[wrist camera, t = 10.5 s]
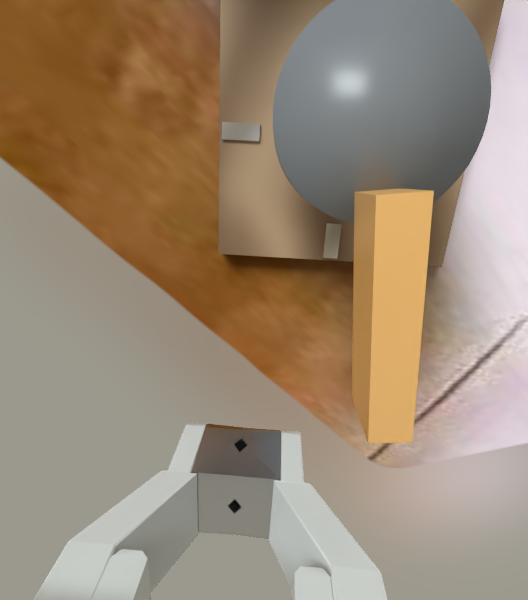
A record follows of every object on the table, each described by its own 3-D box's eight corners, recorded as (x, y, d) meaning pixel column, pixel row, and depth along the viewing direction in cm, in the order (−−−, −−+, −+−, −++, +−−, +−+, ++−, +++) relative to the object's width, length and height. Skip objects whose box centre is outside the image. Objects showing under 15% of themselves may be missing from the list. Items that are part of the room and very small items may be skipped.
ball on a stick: (266, 28, 16) (261, -68, 10) (464, 7, 15) (590, -108, 9) (287, 372, 22) (292, 446, 16) (429, 365, 21) (491, 439, 15)
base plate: (491, 0, 20) (509, -15, 19) (432, 262, 26) (442, 267, 24) (224, -13, 20) (220, -29, 19) (221, 249, 26) (217, 254, 24)
